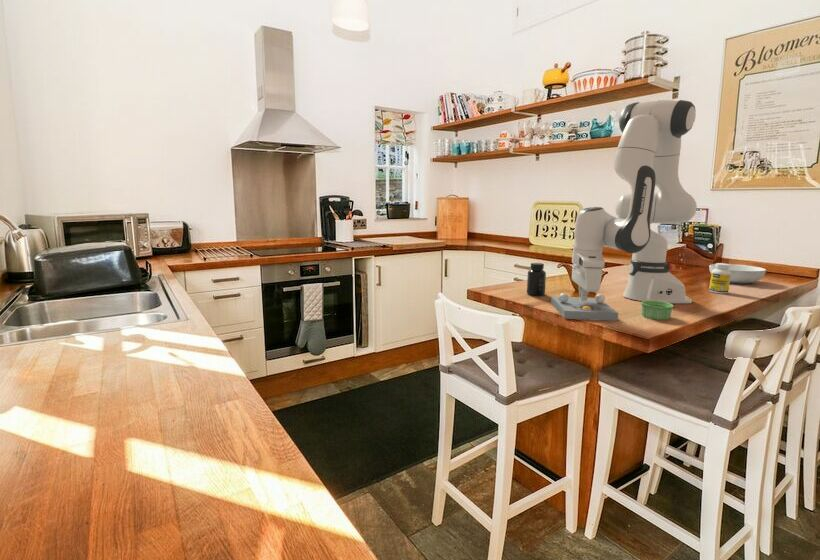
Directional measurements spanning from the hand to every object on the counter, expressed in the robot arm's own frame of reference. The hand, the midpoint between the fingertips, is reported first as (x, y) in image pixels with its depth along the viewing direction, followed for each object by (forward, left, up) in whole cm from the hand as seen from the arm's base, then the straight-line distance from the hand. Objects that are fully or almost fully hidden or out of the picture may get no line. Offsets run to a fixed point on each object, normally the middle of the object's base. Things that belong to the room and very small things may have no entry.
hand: (582, 299), depth 146 cm
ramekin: (-22, +3, -4) cm, 23 cm away
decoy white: (-6, -2, 0) cm, 7 cm away
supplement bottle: (+11, -24, -4) cm, 27 cm away
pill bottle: (-64, -40, -4) cm, 76 cm away
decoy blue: (+6, -1, 0) cm, 6 cm away
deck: (0, 0, -4) cm, 4 cm away
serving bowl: (-85, -66, -4) cm, 108 cm away
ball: (0, +5, -2) cm, 6 cm away
